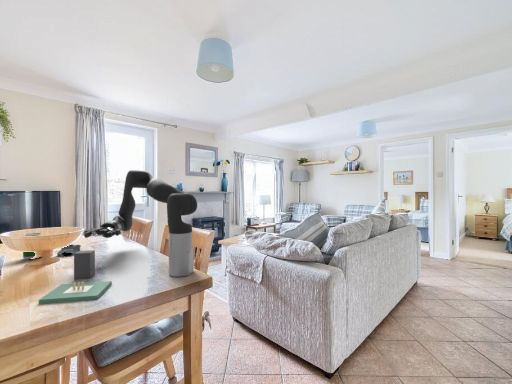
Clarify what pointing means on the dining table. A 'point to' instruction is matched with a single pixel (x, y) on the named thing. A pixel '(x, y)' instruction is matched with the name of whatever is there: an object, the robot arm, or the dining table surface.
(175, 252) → the robot arm
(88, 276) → the block
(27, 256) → the soda can
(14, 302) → the dining table surface
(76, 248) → the electronic device
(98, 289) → the pin board
